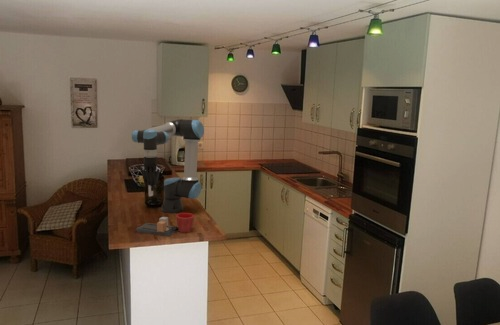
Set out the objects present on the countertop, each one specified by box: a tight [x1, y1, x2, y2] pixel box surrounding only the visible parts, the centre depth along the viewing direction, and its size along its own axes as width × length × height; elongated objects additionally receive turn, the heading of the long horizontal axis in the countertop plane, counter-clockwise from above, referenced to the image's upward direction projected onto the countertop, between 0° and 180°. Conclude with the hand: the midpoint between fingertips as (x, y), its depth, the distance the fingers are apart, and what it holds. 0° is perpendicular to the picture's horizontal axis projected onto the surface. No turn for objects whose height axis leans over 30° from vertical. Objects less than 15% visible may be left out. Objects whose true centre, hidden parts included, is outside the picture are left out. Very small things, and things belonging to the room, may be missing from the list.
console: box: [135, 222, 179, 237], centre depth 254 cm, size 12×22×2 cm, turn 72°
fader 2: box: [156, 221, 166, 232], centre depth 248 cm, size 4×4×5 cm
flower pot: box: [175, 212, 195, 233], centre depth 255 cm, size 11×11×10 cm
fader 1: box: [158, 216, 169, 226], centre depth 256 cm, size 4×4×5 cm
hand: (150, 195), depth 248 cm, fingers closed
